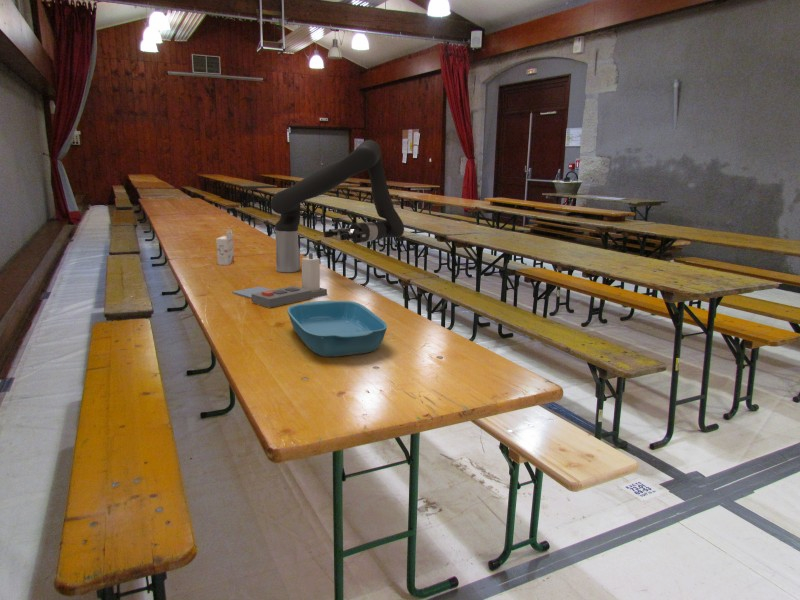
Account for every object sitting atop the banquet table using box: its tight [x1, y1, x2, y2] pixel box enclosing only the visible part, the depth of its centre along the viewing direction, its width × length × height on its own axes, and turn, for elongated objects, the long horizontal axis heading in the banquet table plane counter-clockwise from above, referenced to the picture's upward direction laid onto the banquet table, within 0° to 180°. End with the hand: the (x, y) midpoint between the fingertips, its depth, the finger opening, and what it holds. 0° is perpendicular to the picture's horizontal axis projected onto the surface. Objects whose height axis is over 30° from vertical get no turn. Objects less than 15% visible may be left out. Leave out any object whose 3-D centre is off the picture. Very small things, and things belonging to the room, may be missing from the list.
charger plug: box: [301, 252, 321, 292], centre depth 200 cm, size 4×4×15 cm
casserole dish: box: [286, 300, 388, 358], centre depth 154 cm, size 37×22×7 cm, turn 23°
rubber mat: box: [231, 286, 272, 299], centre depth 201 cm, size 12×12×1 cm
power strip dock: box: [251, 285, 328, 309], centre depth 195 cm, size 26×9×4 cm, turn 141°
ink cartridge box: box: [215, 229, 235, 266], centre depth 250 cm, size 9×5×15 cm, turn 179°
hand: (332, 235), depth 205 cm, fingers open, 8 cm apart
